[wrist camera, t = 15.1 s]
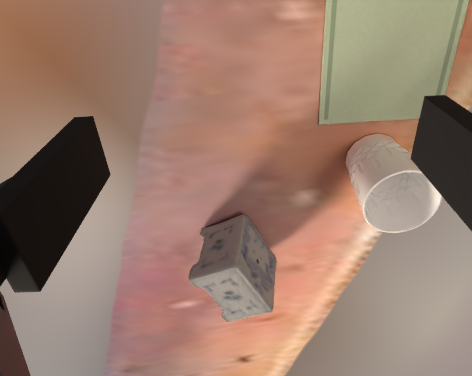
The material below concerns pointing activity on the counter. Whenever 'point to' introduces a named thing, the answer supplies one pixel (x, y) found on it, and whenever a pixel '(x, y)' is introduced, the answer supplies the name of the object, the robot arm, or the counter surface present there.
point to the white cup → (390, 185)
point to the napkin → (386, 57)
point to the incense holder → (236, 269)
